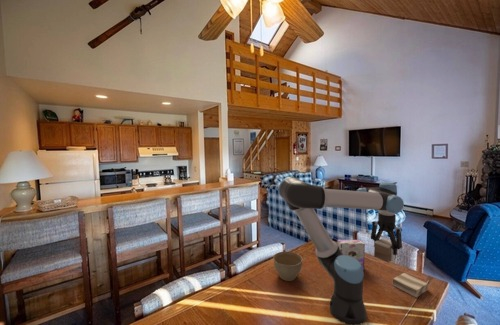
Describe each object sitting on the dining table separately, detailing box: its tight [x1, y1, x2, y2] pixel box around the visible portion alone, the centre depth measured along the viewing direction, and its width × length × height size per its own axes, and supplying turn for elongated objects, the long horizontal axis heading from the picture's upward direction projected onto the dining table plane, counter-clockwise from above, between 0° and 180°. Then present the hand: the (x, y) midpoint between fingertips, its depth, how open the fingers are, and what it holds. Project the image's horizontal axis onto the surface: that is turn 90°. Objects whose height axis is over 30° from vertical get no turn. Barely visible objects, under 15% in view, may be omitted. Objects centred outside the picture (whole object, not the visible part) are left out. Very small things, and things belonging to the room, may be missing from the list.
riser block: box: [392, 272, 429, 298], centre depth 116 cm, size 11×11×4 cm
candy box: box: [337, 239, 366, 271], centre depth 135 cm, size 14×6×16 cm, turn 84°
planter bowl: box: [273, 251, 303, 282], centre depth 127 cm, size 16×16×11 cm
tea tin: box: [373, 238, 397, 263], centre depth 115 cm, size 7×7×8 cm
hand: (384, 256), depth 115 cm, fingers closed on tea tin, 7 cm apart
